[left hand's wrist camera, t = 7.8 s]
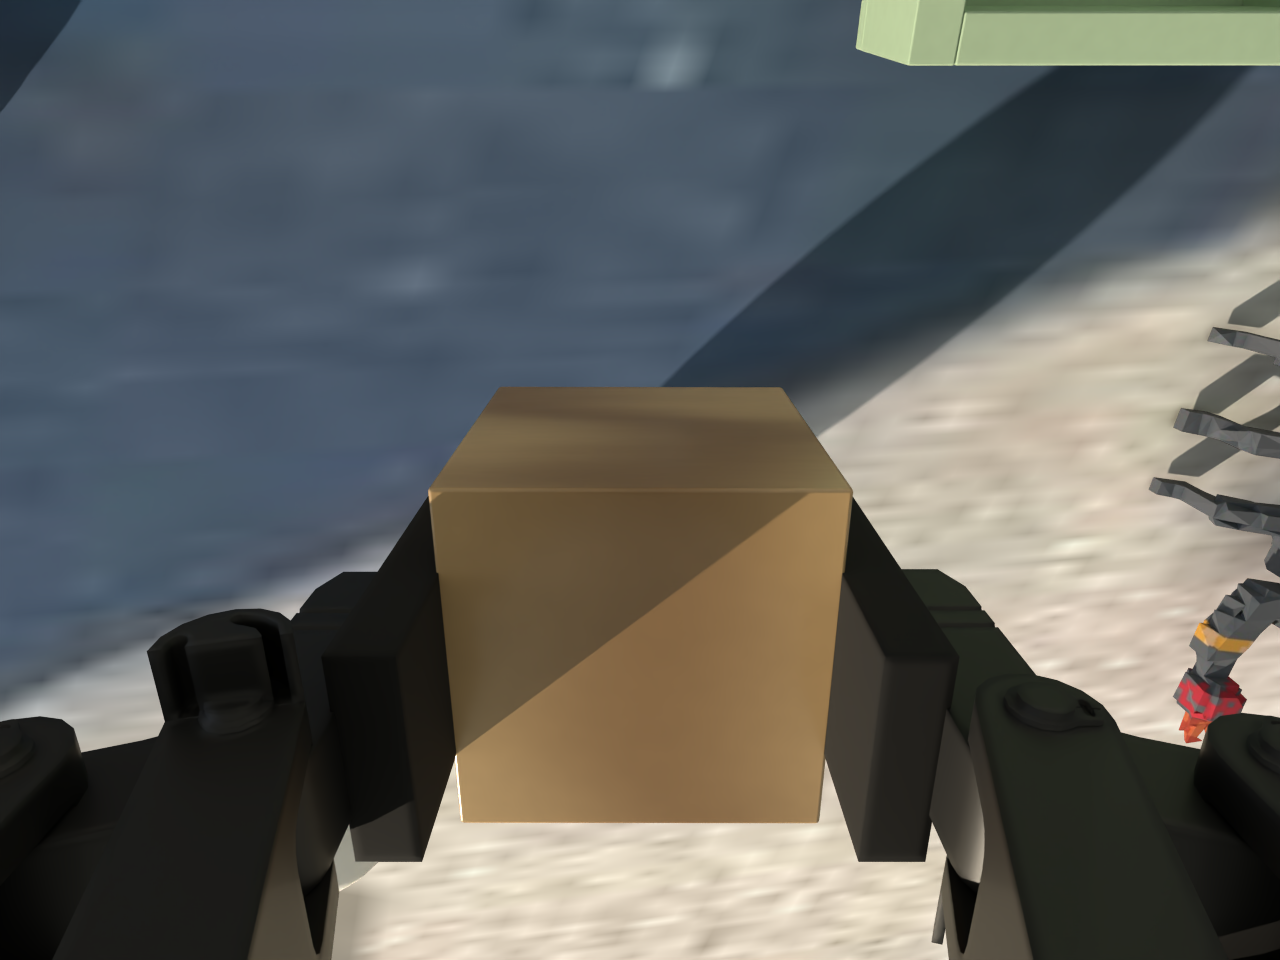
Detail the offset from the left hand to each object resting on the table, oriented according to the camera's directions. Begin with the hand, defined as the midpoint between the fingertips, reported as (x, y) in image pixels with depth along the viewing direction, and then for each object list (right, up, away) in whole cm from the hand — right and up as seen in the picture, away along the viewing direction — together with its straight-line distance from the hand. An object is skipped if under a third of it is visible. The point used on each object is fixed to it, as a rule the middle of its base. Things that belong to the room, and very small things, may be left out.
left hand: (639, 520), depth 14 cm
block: (0, 0, 0) cm, 0 cm away
